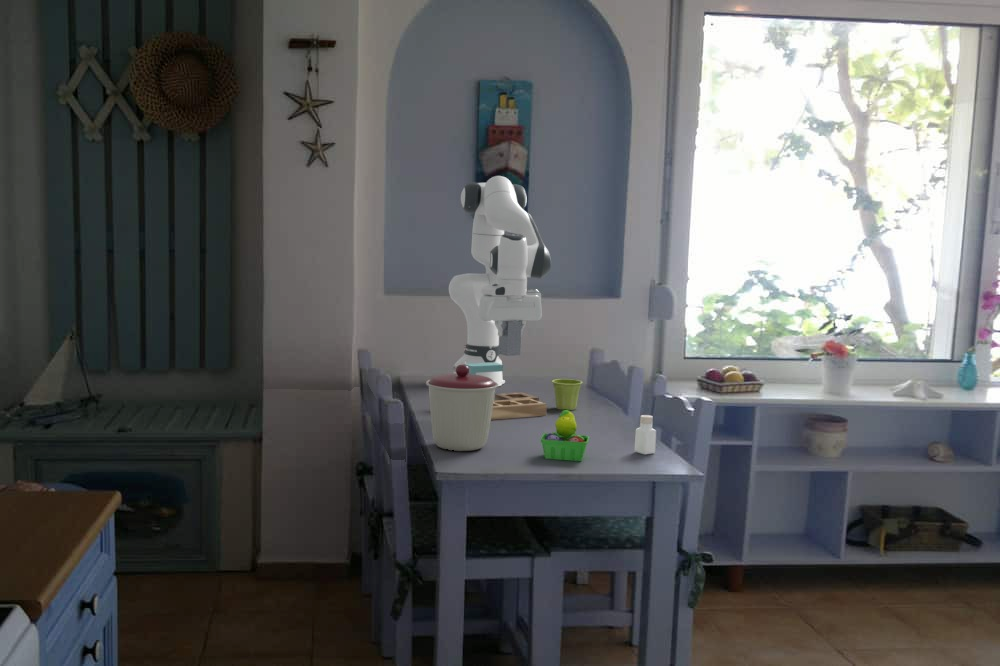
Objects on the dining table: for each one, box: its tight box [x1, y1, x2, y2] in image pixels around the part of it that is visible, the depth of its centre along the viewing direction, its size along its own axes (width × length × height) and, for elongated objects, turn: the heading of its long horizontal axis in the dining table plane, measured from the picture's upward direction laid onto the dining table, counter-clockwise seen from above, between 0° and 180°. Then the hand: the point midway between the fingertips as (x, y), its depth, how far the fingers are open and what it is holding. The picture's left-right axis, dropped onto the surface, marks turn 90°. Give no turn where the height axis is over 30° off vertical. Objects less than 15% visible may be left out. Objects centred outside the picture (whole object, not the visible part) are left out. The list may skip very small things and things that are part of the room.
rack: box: [491, 398, 548, 421], centre depth 292 cm, size 10×22×4 cm, turn 121°
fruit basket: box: [540, 409, 590, 462], centre depth 241 cm, size 11×9×11 cm
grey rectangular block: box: [499, 320, 522, 357], centre depth 290 cm, size 5×5×10 cm
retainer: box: [464, 363, 504, 375], centre depth 300 cm, size 13×7×12 cm, turn 121°
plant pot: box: [551, 378, 583, 411], centre depth 305 cm, size 9×9×9 cm
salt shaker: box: [634, 414, 657, 455], centre depth 249 cm, size 4×4×10 cm
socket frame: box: [494, 391, 540, 402], centre depth 304 cm, size 27×10×3 cm, turn 121°
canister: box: [425, 365, 499, 452], centre depth 247 cm, size 18×18×21 cm
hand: (510, 335), depth 290 cm, fingers closed on grey rectangular block, 5 cm apart
